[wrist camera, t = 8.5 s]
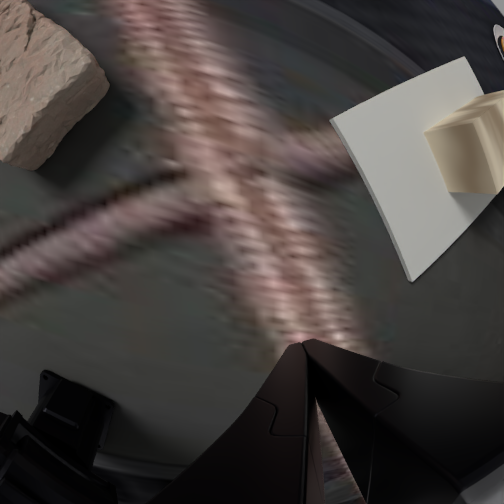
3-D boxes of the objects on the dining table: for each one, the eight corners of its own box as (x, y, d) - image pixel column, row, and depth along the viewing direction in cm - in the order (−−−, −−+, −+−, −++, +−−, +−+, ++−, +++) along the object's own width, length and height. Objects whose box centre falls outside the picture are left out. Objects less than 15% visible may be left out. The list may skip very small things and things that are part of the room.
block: (497, 194, 16) (535, 142, 16) (472, 122, 14) (516, 87, 15) (448, 191, 21) (496, 144, 22) (423, 132, 20) (477, 96, 20)
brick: (118, 83, 16) (99, 54, 11) (37, 178, 16) (0, 174, 11) (21, 2, 12) (0, -22, 7) (-40, 73, 12) (-68, 60, 7)
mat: (408, 280, 22) (412, 282, 22) (329, 120, 19) (332, 118, 18) (508, 173, 23) (512, 173, 23) (460, 57, 20) (464, 56, 19)
